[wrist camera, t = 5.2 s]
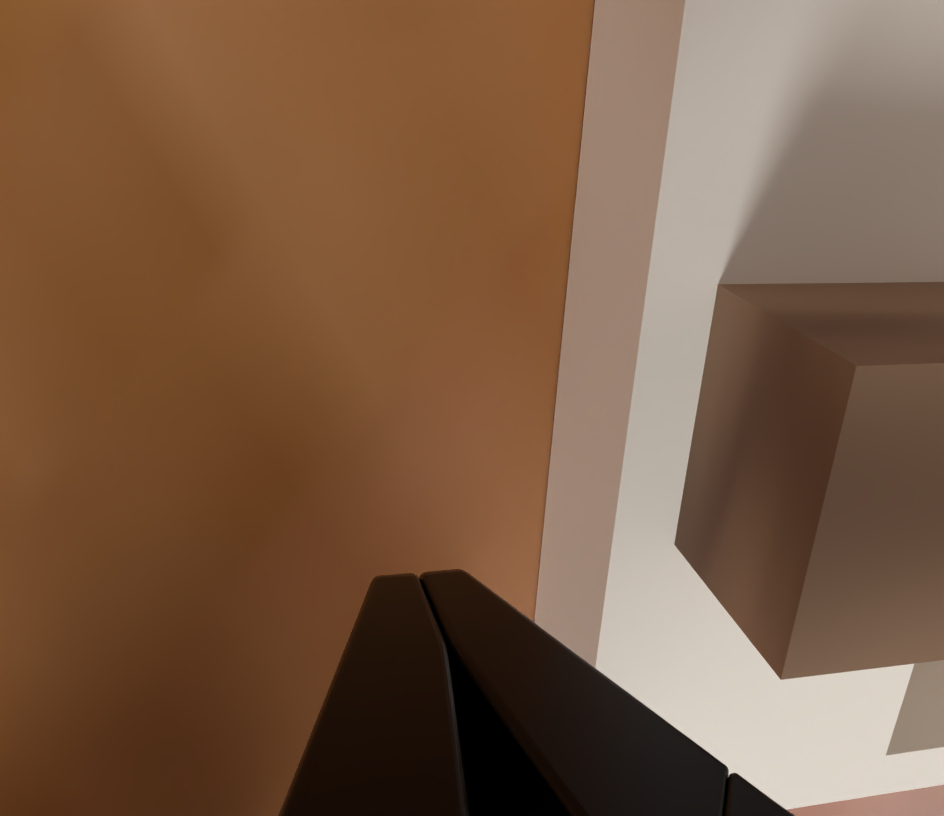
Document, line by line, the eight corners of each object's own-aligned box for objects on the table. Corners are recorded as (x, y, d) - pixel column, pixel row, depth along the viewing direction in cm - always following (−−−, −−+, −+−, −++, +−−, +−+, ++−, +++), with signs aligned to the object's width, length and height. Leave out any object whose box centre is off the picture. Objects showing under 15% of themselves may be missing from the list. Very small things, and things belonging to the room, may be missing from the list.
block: (905, 525, 14) (1058, 646, 11) (674, 544, 13) (781, 680, 11) (976, 281, 12) (1172, 354, 10) (717, 283, 12) (856, 366, 9)
